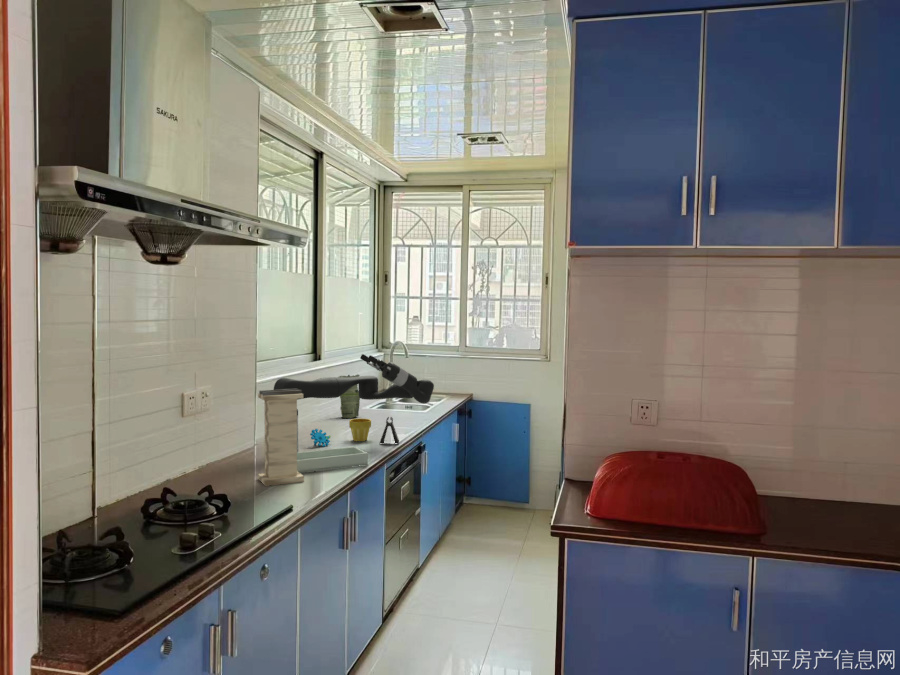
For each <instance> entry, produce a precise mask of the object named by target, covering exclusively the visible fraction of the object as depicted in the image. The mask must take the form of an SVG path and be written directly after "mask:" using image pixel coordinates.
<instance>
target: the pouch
mask: <svg viewBox="0 0 900 675" xmlns="http://www.w3.org/2000/svg"><path fill="white" fill-rule="evenodd" d="M359 376H361V375H360V374H355V375H350V374H348V375H339V376H338V377H359ZM358 391H359V384H357V385H354V386H353V387H351V388H350V389H349V390H348V391H346V392H345V393H344V394H343V395H341V396H339V399H340V408H339V409H340V412H341V413H340V414H341V418H342V419H355V418H357V417H359V415H360V414H359V411H360V401H361V398H359V393H358Z"/></svg>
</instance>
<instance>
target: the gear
mask: <svg viewBox="0 0 900 675" xmlns="http://www.w3.org/2000/svg"><path fill="white" fill-rule="evenodd" d="M309 435H310V439H311V440H313V445H314V446H316V445H317V446H318V447H320V446H321V447H323V448H325V447H327V446H329V443H330V442H331V440H330V438H331V435H327V432H326V431H325V432H323V430H322V429H320V430H319V429H318V428H315V429H312V430H311V433H310V434H309Z"/></svg>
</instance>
